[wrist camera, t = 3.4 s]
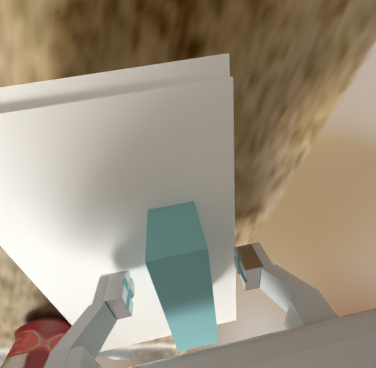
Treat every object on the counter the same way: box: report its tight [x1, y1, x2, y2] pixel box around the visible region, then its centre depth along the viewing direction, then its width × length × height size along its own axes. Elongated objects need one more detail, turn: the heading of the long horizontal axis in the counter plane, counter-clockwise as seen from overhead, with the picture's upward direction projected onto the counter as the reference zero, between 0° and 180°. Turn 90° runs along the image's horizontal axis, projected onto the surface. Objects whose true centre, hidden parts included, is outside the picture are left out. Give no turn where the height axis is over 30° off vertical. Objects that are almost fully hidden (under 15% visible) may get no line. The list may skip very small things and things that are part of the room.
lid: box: [0, 53, 236, 352], centre depth 12 cm, size 20×13×6 cm, turn 7°
